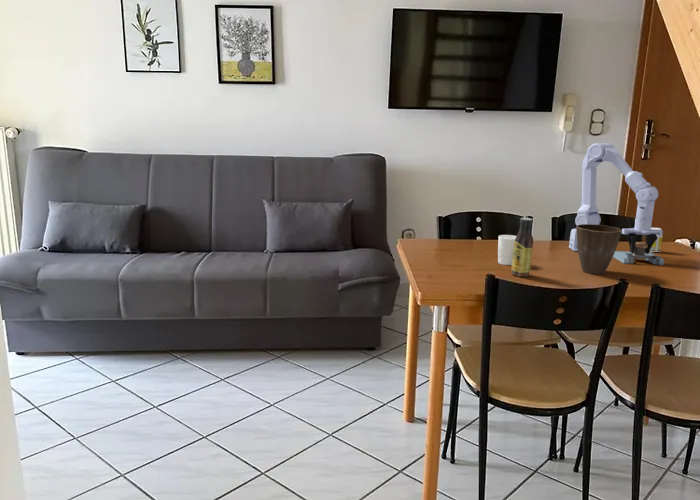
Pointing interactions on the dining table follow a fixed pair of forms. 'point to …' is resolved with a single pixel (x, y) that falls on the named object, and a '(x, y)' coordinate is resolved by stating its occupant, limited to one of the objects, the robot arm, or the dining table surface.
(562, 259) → the dining table surface
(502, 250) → the white cup
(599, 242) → the plant pot
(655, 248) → the supplement bottle
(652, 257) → the hook bar
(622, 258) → the notched board
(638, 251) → the spool
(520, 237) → the sauce bottle
